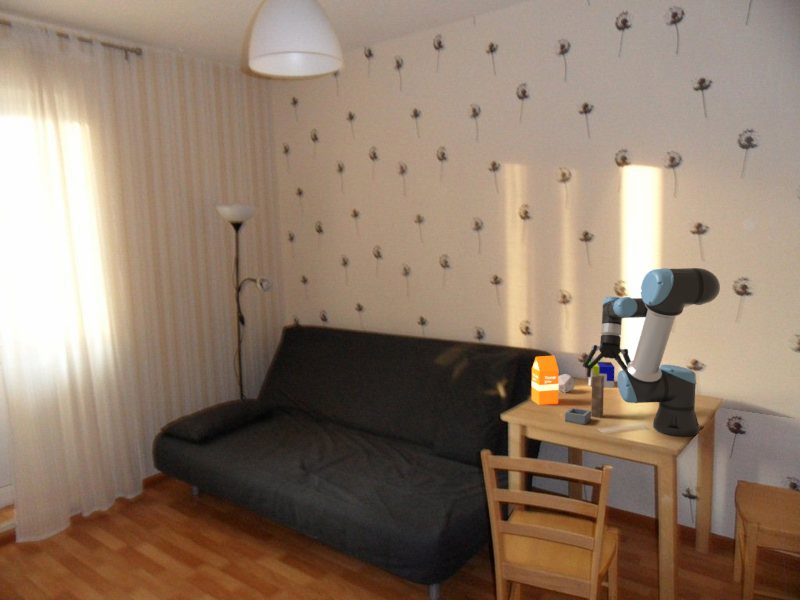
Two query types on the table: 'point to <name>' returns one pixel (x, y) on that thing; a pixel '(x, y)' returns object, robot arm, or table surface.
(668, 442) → the table surface
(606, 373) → the puzzle toy
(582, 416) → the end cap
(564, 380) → the crumpled paper ball
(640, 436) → the table surface
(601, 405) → the brown rectangular block
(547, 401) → the orange juice
